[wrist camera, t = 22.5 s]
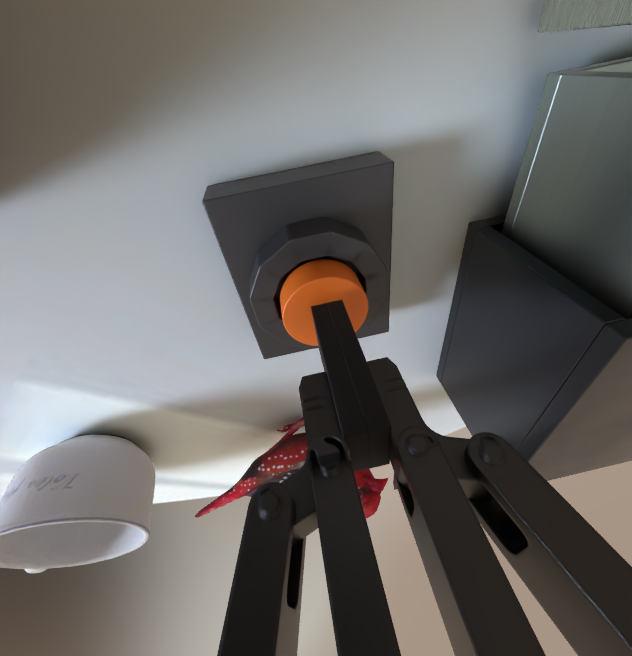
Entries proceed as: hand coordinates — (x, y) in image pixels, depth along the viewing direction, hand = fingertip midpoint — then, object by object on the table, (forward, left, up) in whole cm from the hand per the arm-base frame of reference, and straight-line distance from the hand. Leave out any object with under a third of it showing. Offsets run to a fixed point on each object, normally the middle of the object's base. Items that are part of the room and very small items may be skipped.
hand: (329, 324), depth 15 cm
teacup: (+16, -24, -6) cm, 29 cm away
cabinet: (+7, +17, -6) cm, 20 cm away
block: (0, 0, -6) cm, 6 cm away
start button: (0, 0, -2) cm, 2 cm away
